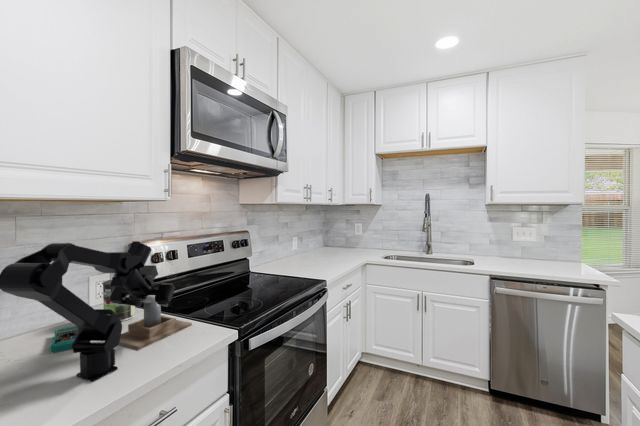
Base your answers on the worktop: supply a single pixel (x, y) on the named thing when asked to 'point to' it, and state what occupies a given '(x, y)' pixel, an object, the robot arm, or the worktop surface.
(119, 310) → the coffee can
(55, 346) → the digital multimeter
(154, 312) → the grey upright cylinder
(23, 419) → the worktop surface
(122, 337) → the dock
